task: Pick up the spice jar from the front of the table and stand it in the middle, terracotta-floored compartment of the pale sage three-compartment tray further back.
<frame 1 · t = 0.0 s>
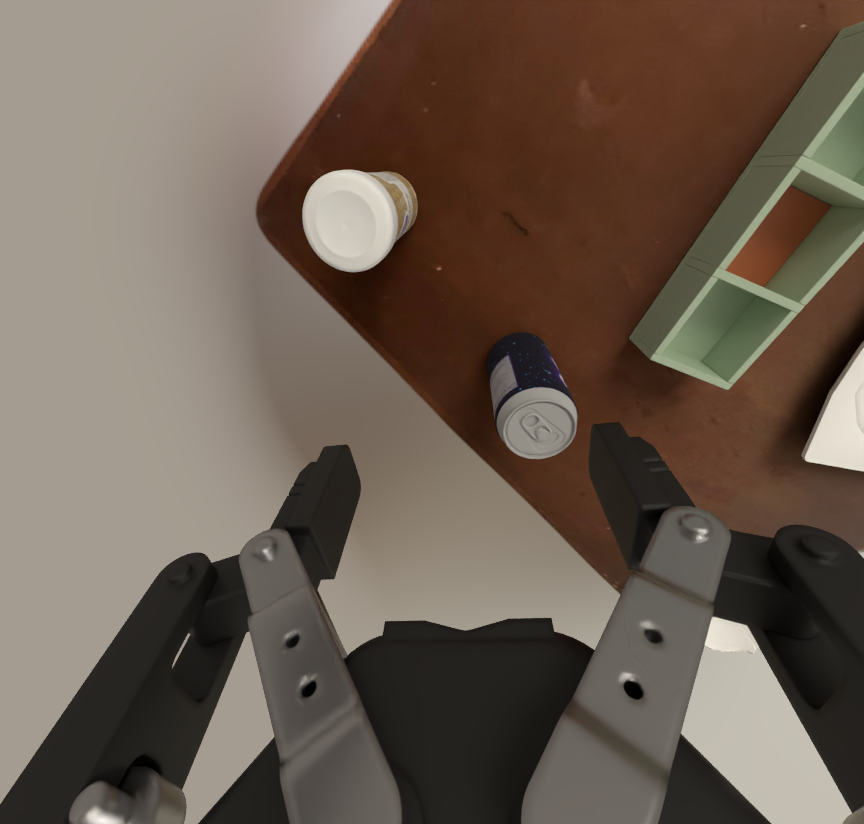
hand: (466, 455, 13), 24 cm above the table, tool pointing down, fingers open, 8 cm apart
beverage can: (516, 357, 36), on the table
cup: (694, 552, 49), on the table
tray: (755, 232, 29), on the table
spice jar: (390, 204, 30), on the table
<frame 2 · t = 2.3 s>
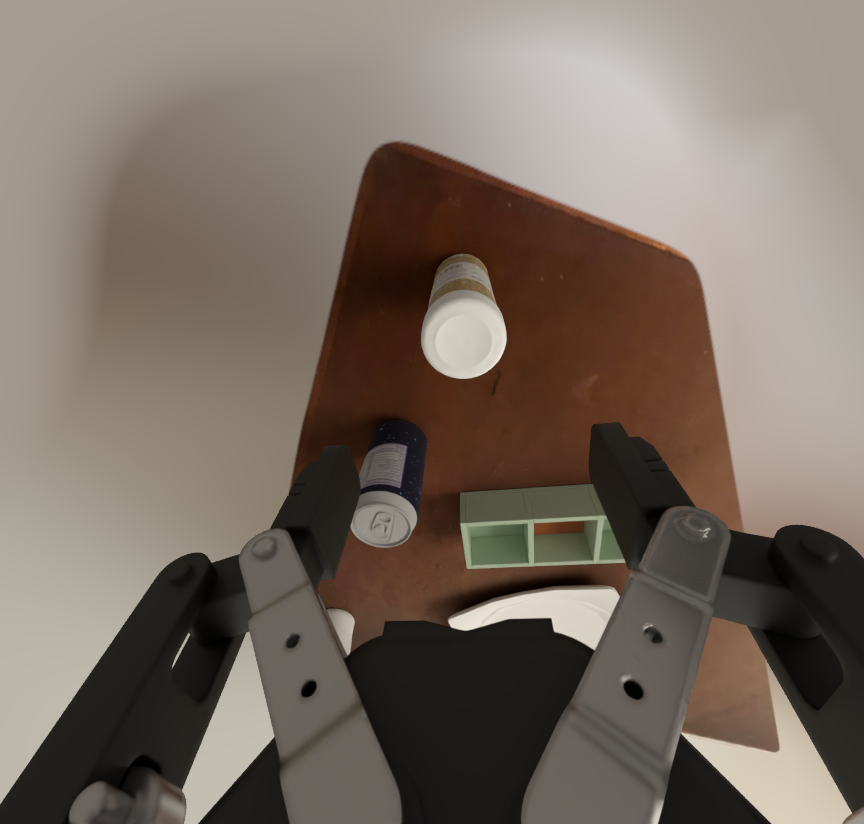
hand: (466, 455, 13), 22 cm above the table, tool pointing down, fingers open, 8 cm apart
beverage can: (400, 436, 40), on the table
cup: (339, 617, 59), on the table
tray: (555, 510, 44), on the table
plate: (544, 628, 58), on the table
spice jar: (461, 280, 32), on the table
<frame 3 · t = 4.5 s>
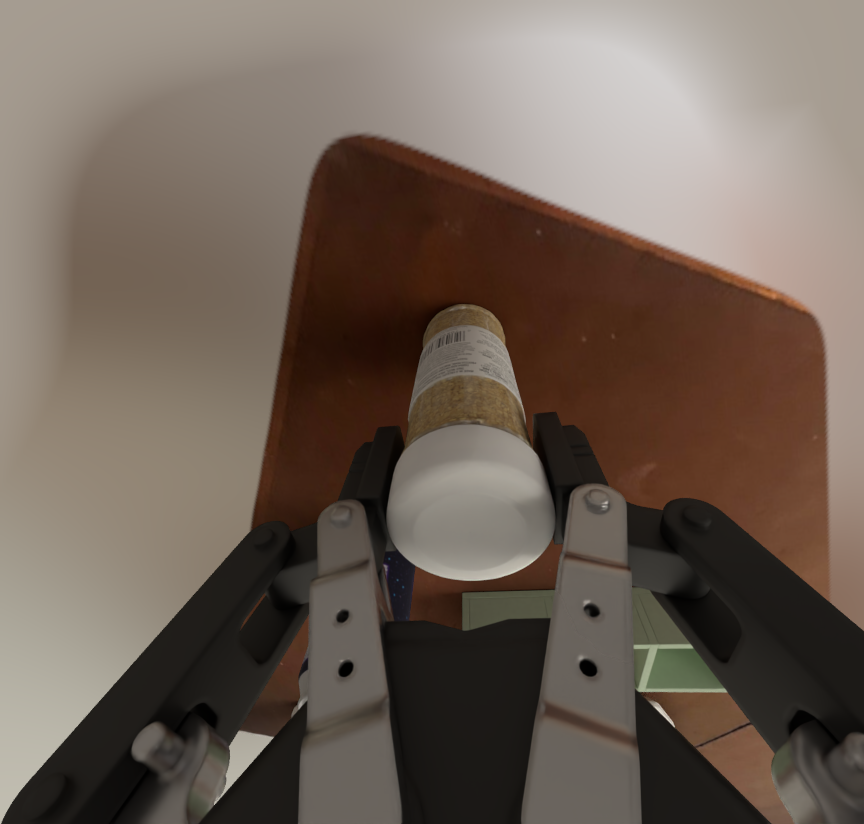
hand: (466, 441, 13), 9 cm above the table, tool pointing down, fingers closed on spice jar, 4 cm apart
beverage can: (383, 529, 30), on the table
tray: (585, 613, 34), on the table
spice jar: (464, 340, 22), on the table, touching gripper
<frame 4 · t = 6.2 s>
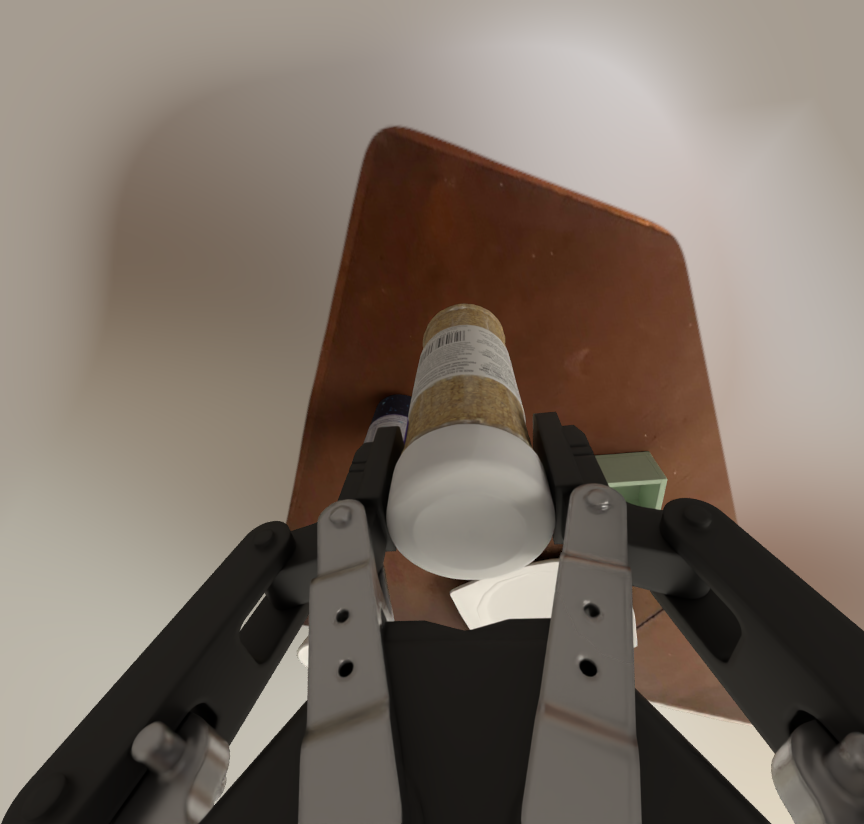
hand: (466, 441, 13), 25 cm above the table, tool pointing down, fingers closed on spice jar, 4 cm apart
beverage can: (402, 411, 42), on the table
tray: (551, 483, 46), on the table
plate: (543, 602, 60), on the table
spice jar: (464, 339, 22), point 15 cm above the table, touching gripper
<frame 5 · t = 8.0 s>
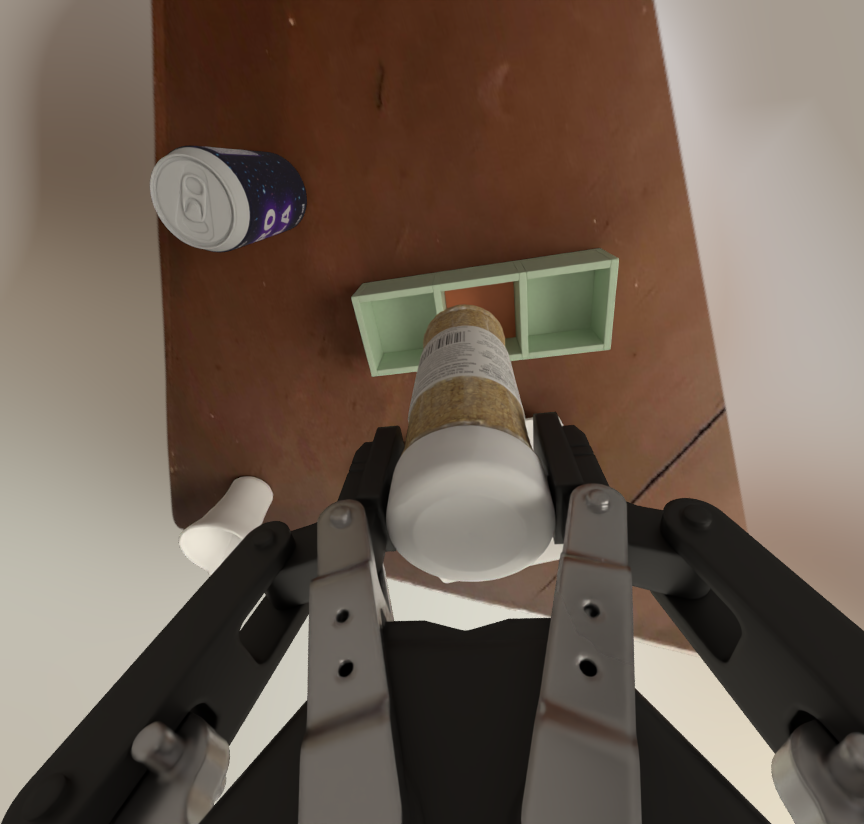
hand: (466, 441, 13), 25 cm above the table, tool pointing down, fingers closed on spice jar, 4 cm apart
beverage can: (277, 192, 32), on the table
cup: (256, 491, 52), on the table
tray: (480, 307, 36), on the table
plate: (489, 497, 50), on the table
spice jar: (464, 340, 22), point 16 cm above the table, touching gripper
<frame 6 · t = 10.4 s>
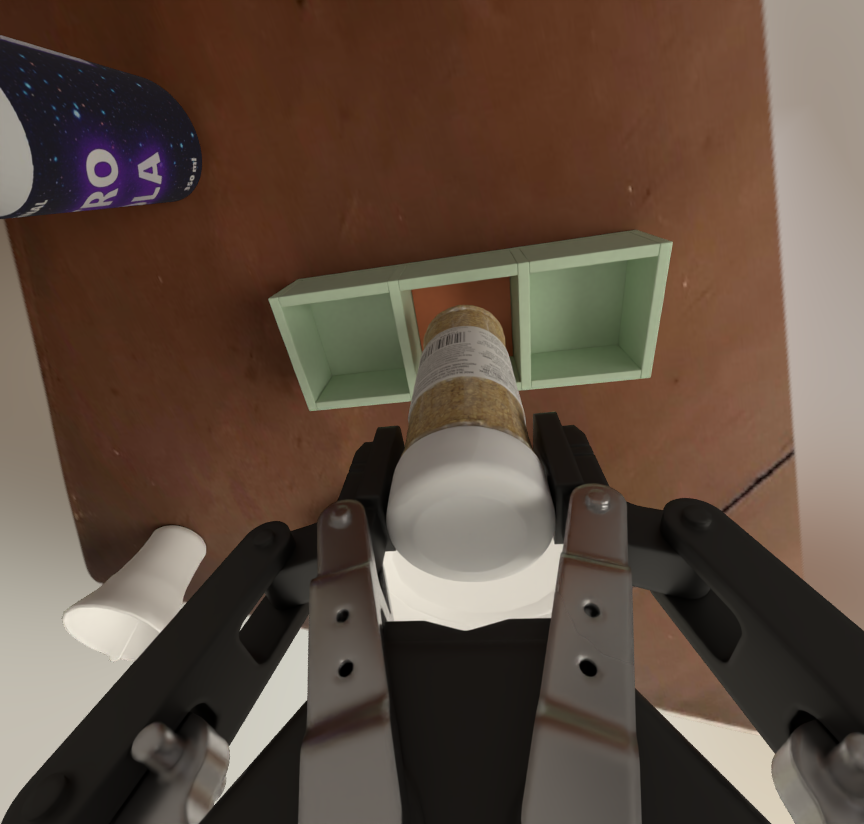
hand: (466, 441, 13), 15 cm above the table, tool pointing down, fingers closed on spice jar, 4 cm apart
beverage can: (163, 144, 22), on the table
cup: (186, 542, 41), on the table
tray: (463, 314, 26), on the table
plate: (479, 553, 39), on the table
spice jar: (464, 340, 22), point 5 cm above the table, touching gripper
when the fingers open (10 cm above the table, at t = 12.0 s): spice jar stays where it is, resting on tray.
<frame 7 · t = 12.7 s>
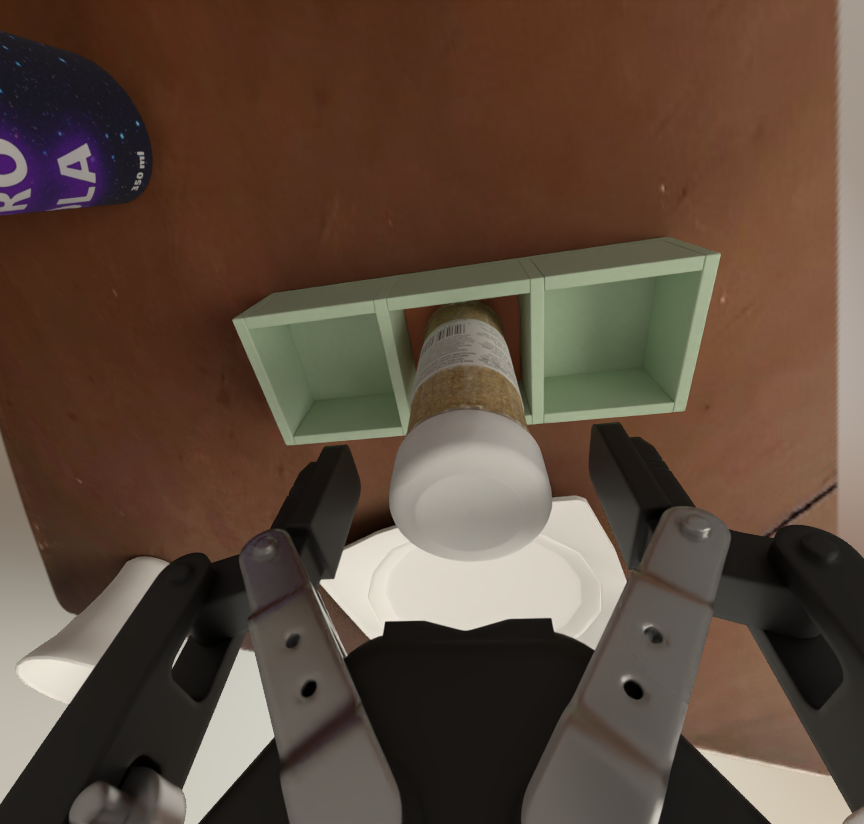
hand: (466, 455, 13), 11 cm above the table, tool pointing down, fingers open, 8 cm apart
beverage can: (107, 135, 19), on the table
cup: (162, 573, 38), on the table
tray: (464, 332, 23), on the table
plate: (481, 587, 36), on the table
spice jar: (464, 334, 22), point 1 cm above the table, touching tray
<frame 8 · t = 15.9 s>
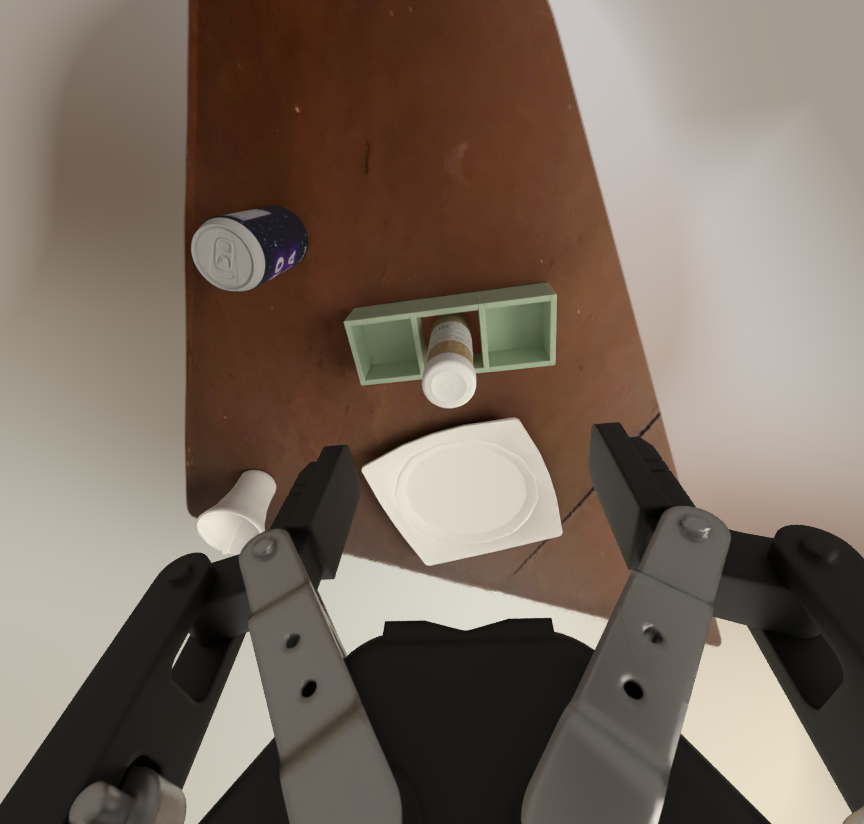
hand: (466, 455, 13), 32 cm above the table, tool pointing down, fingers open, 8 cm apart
beverage can: (284, 236, 40), on the table
cup: (261, 483, 59), on the table
tray: (451, 328, 44), on the table
plate: (465, 489, 57), on the table
spice jar: (451, 329, 43), point 1 cm above the table, touching tray
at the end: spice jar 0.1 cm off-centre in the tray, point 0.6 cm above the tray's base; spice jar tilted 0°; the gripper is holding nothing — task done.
